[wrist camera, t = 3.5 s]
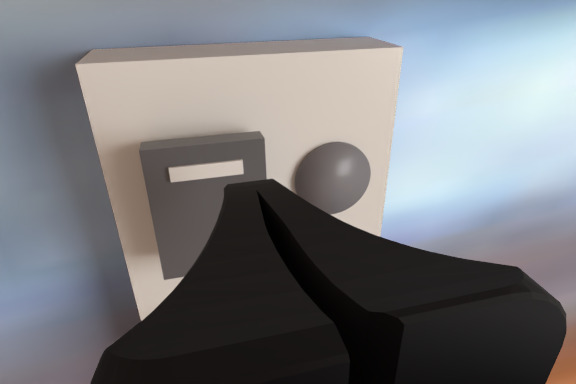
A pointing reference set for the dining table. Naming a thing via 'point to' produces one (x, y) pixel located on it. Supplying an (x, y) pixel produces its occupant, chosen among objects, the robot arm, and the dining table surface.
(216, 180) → the rocker
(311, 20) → the dining table surface
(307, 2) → the dining table surface
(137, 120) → the beige switch box
